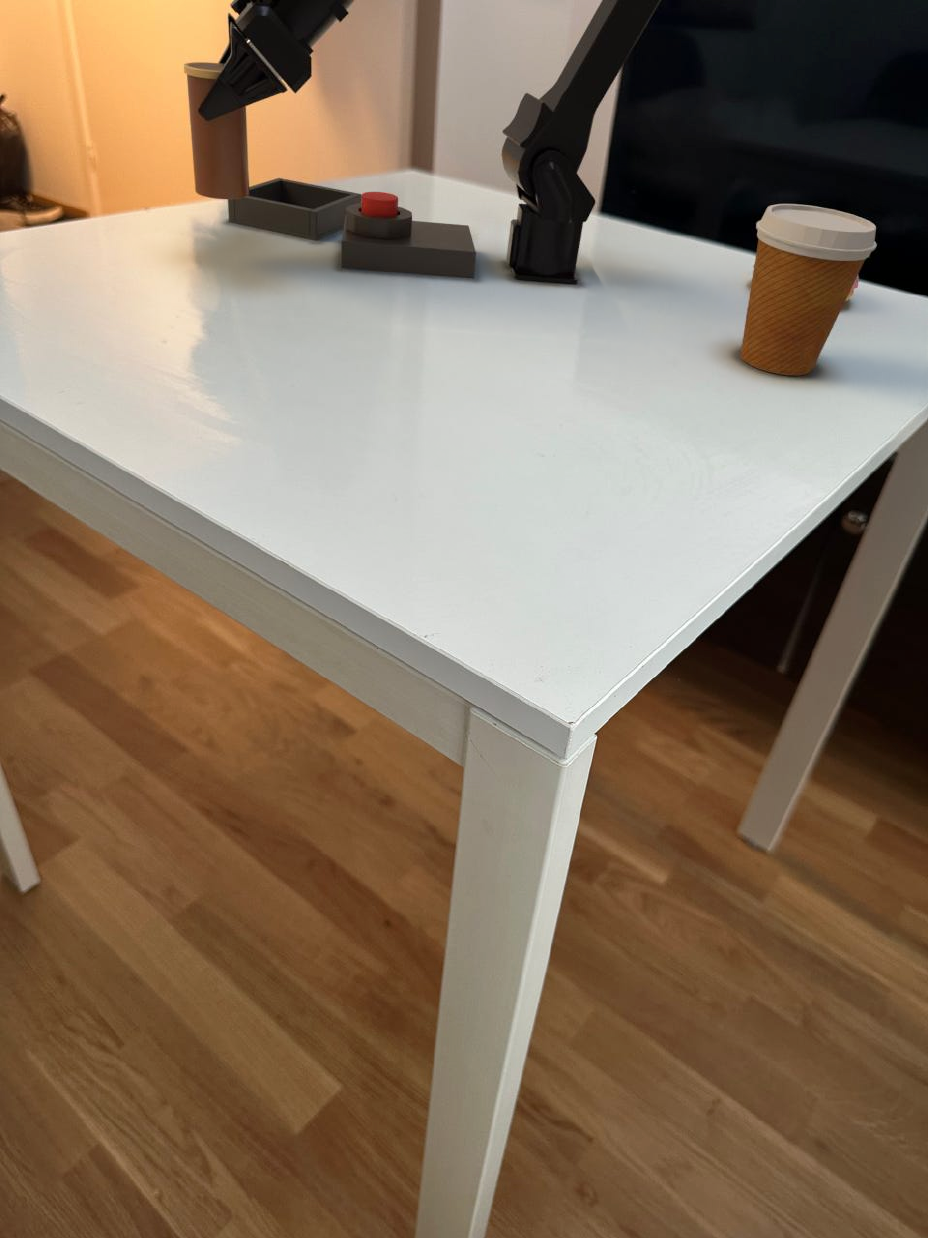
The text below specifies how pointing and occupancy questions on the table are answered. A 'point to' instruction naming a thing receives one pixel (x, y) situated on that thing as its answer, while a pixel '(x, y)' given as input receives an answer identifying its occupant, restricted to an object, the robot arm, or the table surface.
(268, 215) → the tray
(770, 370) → the disposable coffee cup
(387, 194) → the brew button
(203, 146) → the brown cup
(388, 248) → the red button box
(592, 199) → the robot arm
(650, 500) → the table surface
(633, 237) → the table surface
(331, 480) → the table surface
